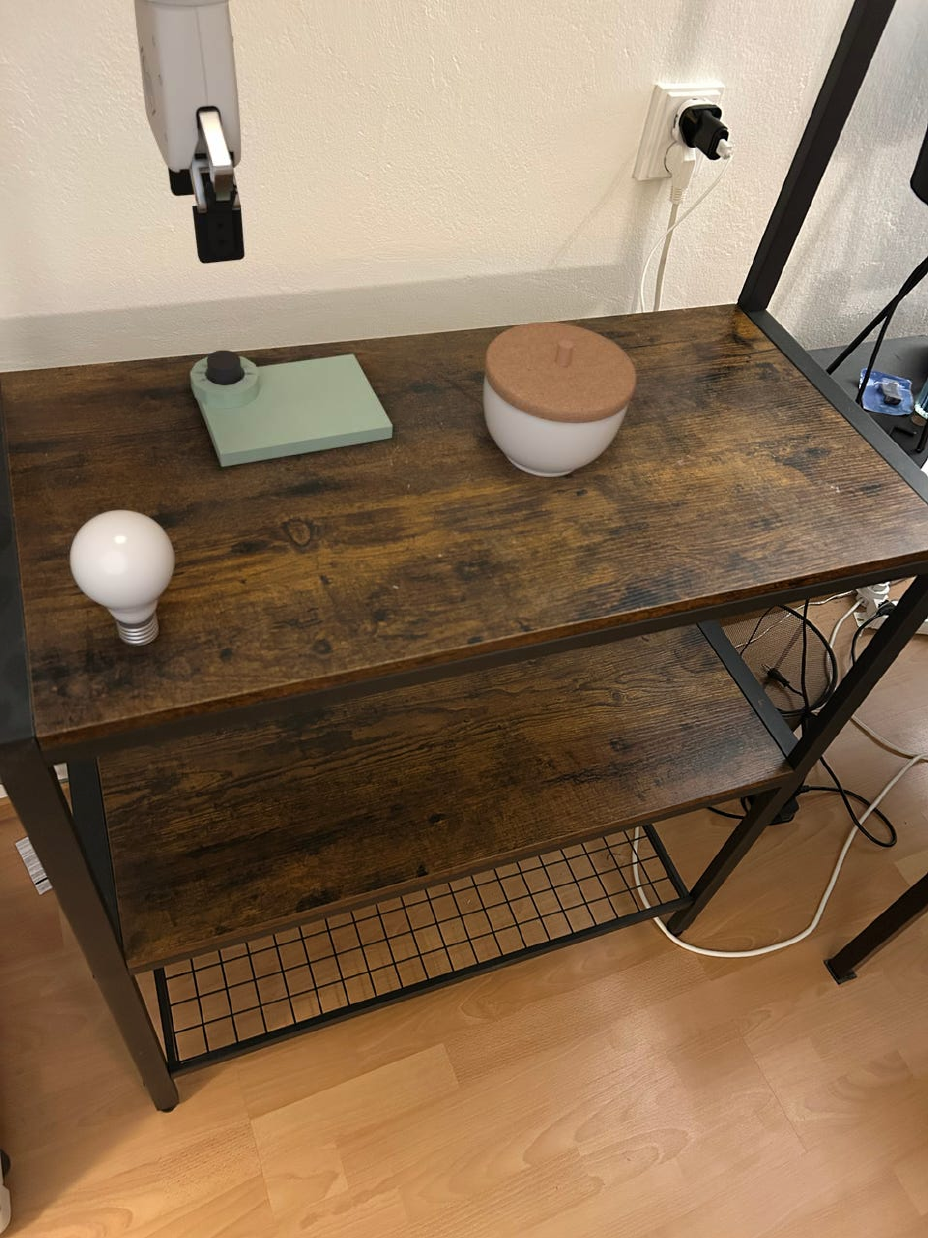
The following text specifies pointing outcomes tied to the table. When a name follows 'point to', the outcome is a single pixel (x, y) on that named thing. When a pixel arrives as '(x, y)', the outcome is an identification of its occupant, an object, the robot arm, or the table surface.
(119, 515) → the lightbulb
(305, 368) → the green dial base
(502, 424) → the lidded bowl
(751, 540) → the table surface
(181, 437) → the table surface
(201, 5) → the robot arm
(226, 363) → the tare button
